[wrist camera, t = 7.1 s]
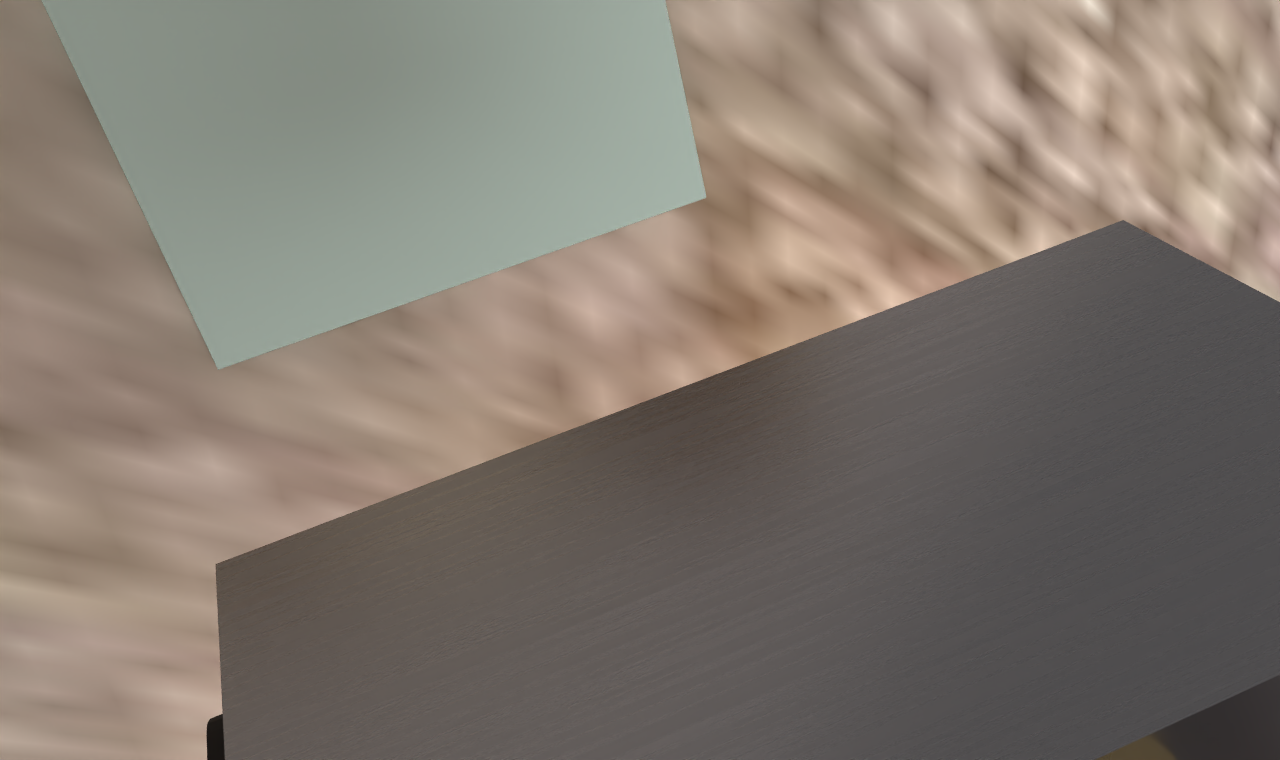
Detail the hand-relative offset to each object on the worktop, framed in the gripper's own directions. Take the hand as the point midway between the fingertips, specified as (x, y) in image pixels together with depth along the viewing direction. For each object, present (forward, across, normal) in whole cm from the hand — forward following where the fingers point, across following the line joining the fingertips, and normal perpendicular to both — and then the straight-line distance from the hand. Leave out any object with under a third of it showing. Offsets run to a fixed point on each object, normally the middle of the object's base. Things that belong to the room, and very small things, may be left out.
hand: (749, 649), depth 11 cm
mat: (+19, 0, 0) cm, 19 cm away
